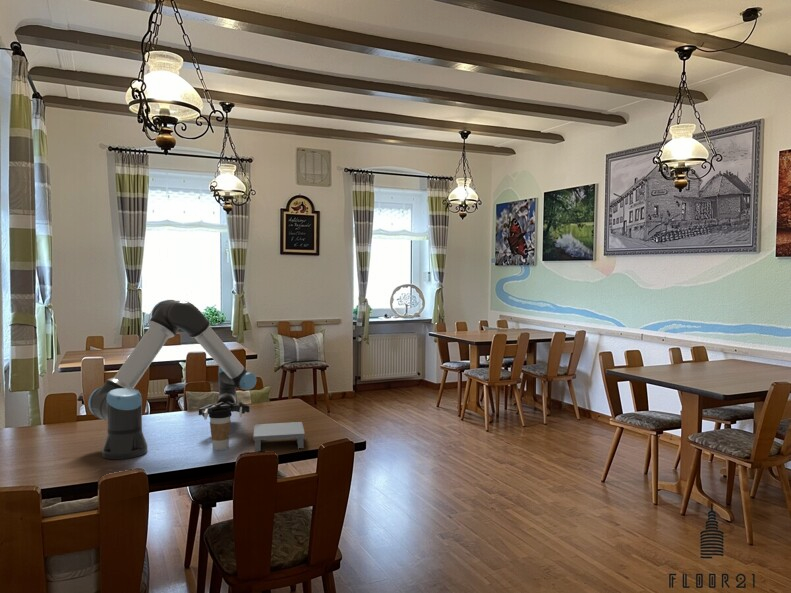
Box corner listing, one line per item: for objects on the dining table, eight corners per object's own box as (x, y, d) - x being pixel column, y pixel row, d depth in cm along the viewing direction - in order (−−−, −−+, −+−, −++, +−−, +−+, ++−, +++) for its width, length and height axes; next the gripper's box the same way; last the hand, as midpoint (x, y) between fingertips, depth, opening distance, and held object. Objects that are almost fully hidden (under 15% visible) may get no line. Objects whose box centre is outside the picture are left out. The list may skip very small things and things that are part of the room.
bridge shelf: (253, 452, 216) (253, 436, 216) (254, 439, 234) (254, 424, 233) (304, 449, 220) (304, 433, 220) (301, 436, 238) (301, 421, 238)
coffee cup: (225, 451, 217) (225, 412, 217) (204, 450, 219) (204, 410, 218) (235, 445, 225) (235, 407, 225) (216, 443, 227) (215, 406, 227)
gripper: (255, 410, 255) (255, 422, 235) (196, 413, 250) (190, 426, 229) (255, 393, 255) (254, 404, 234) (196, 396, 249) (190, 407, 229)
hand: (223, 415), depth 232 cm, fingers open, 13 cm apart
